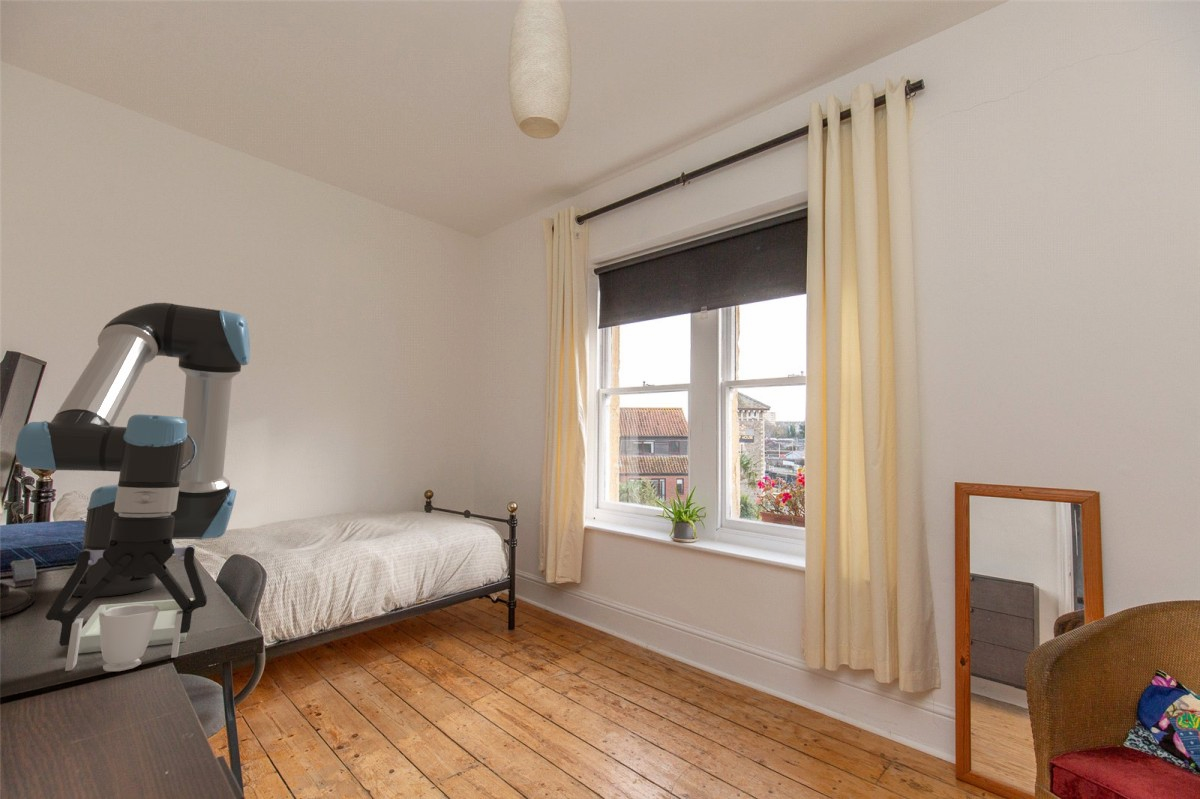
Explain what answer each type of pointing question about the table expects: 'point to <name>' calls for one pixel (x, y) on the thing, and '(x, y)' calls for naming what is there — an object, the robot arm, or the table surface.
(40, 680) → the table surface
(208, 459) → the robot arm
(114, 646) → the cup
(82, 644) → the tray
